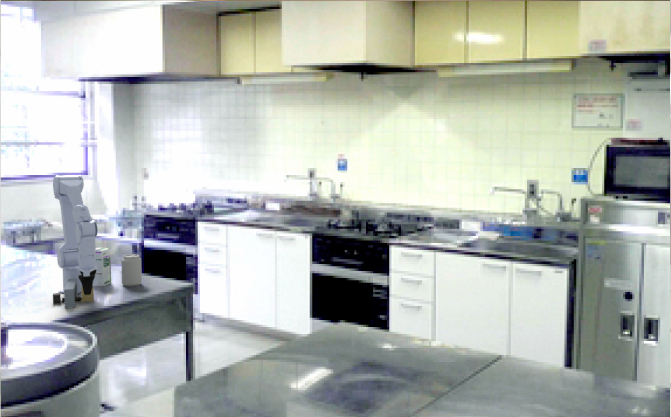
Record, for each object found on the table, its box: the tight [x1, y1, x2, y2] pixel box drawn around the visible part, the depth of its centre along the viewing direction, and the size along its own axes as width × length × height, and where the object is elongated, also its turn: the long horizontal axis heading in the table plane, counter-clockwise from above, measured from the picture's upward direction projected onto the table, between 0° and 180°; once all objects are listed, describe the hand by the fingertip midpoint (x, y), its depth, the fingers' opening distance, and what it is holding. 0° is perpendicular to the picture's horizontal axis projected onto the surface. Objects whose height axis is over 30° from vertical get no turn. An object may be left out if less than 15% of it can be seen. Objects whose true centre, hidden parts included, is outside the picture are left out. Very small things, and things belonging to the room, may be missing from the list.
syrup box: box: [93, 247, 112, 287], centre depth 264 cm, size 6×6×14 cm
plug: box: [52, 286, 95, 305], centre depth 238 cm, size 14×4×5 cm, turn 110°
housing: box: [63, 279, 79, 309], centre depth 237 cm, size 3×17×7 cm, turn 18°
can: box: [121, 253, 143, 288], centre depth 264 cm, size 8×8×12 cm
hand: (88, 292), depth 239 cm, fingers open, 7 cm apart
